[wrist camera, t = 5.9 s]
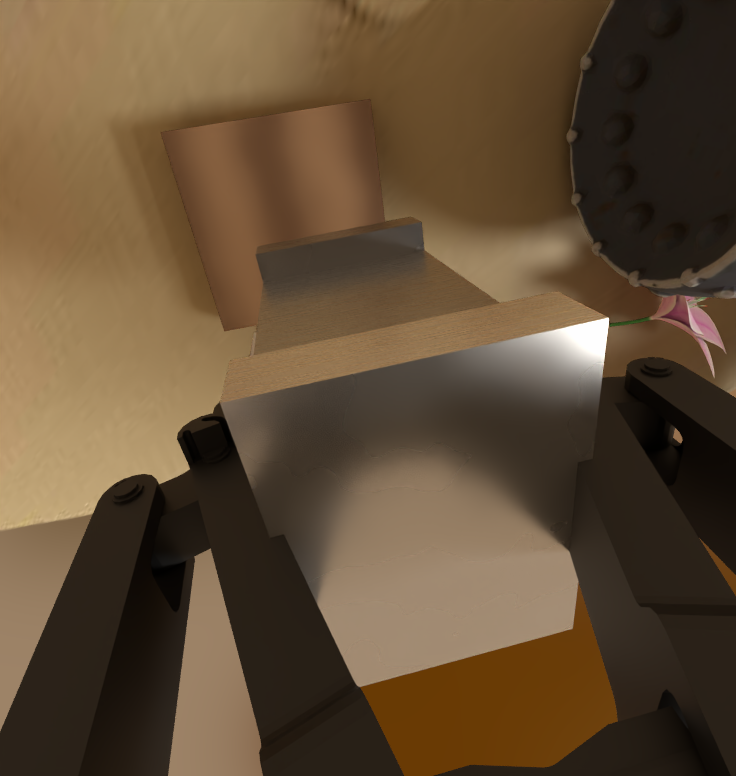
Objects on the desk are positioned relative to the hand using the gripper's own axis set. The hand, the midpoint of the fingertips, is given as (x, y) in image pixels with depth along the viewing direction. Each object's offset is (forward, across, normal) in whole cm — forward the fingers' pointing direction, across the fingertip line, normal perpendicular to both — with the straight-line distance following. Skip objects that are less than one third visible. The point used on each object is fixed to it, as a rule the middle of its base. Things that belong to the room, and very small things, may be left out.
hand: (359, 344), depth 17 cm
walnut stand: (+20, +2, -2) cm, 20 cm away
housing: (+2, 0, 0) cm, 2 cm away
